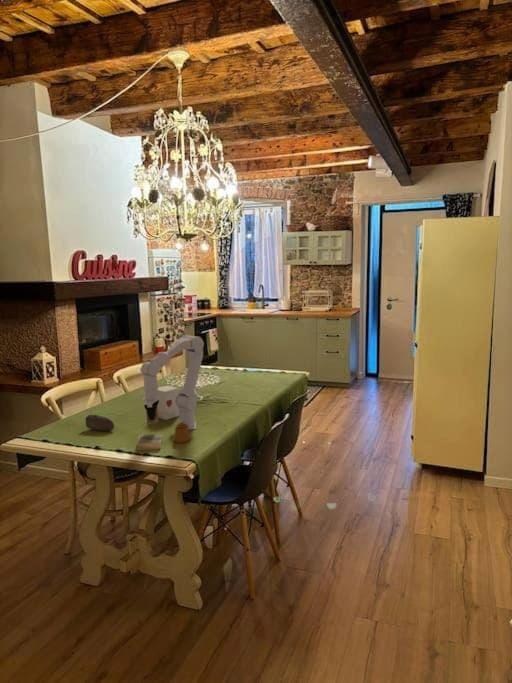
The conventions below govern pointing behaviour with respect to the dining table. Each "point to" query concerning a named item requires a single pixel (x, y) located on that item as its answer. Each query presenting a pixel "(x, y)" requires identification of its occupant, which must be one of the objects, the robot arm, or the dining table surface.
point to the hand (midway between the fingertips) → (152, 418)
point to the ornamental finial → (181, 433)
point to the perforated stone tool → (99, 423)
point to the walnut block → (155, 417)
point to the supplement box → (167, 402)
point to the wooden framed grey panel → (149, 442)
